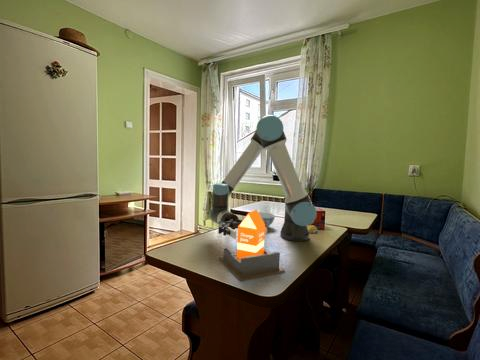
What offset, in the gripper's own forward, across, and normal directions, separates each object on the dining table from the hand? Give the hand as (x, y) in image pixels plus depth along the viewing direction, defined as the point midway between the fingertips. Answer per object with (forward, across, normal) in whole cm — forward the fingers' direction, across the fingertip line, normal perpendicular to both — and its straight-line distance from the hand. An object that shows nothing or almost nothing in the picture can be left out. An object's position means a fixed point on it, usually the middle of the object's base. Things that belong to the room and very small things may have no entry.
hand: (251, 233), depth 95 cm
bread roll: (-30, -57, -13) cm, 66 cm away
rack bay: (0, 0, -13) cm, 13 cm away
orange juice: (0, 0, -12) cm, 12 cm away
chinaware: (-46, -34, -13) cm, 59 cm away
